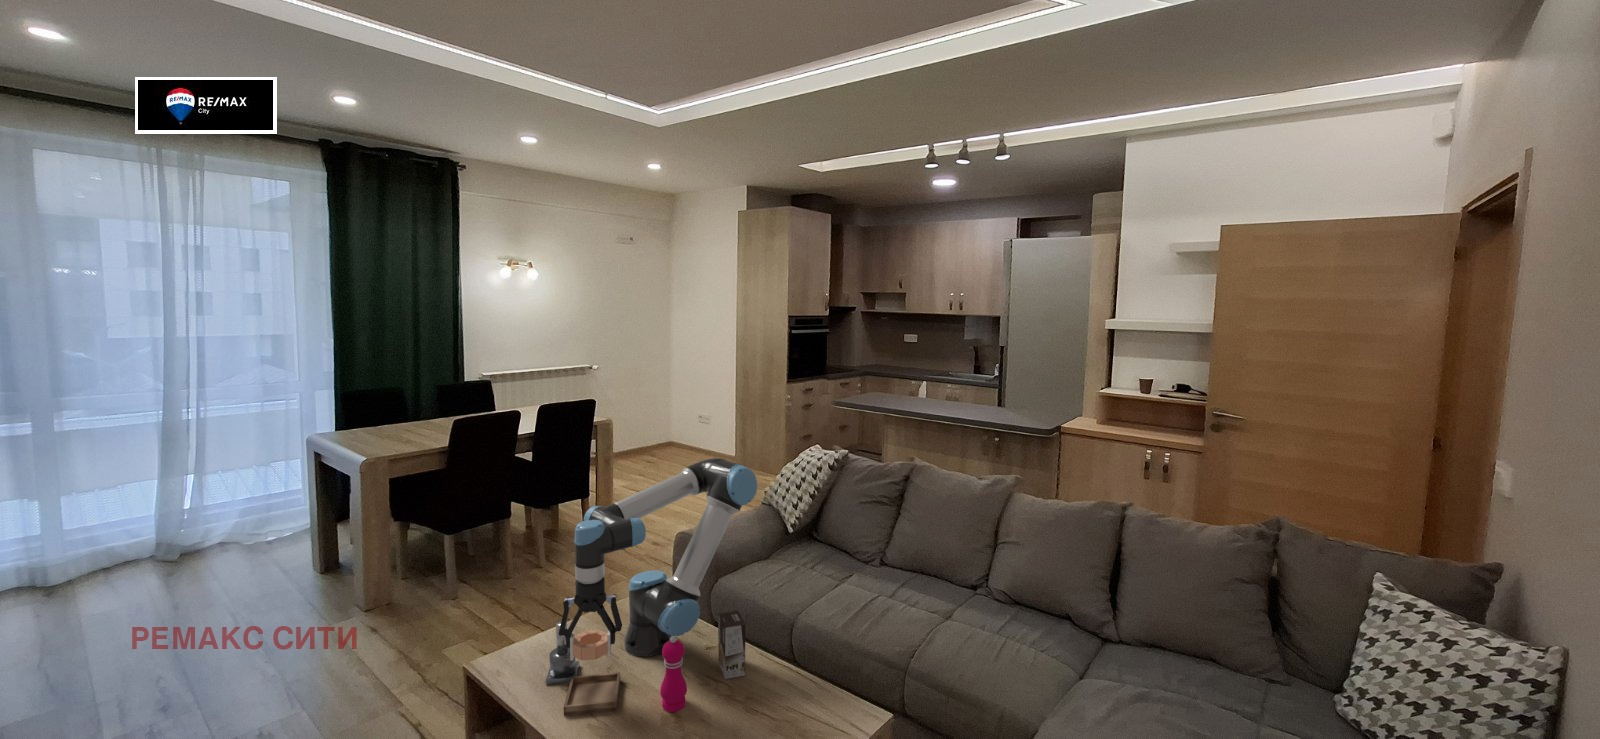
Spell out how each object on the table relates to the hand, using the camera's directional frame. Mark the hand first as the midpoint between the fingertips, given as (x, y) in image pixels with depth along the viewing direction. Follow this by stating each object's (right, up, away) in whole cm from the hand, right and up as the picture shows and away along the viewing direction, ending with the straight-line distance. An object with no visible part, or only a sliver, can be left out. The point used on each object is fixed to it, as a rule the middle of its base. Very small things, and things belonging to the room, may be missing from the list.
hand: (591, 656), depth 174 cm
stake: (-12, -11, +12) cm, 20 cm away
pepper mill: (+23, -13, -1) cm, 26 cm away
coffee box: (+37, -11, +16) cm, 42 cm away
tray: (0, -12, +2) cm, 12 cm away
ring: (0, +2, 0) cm, 2 cm away
